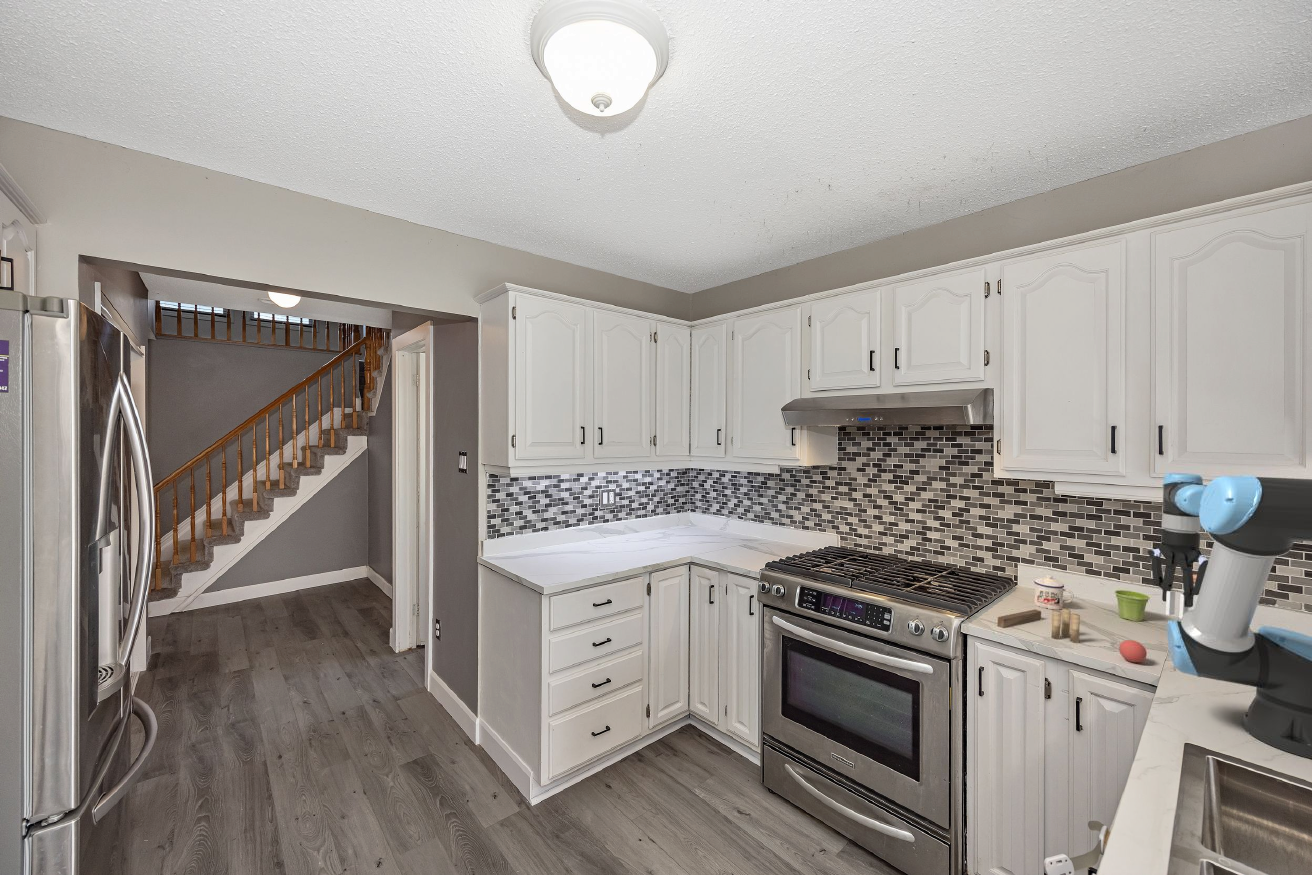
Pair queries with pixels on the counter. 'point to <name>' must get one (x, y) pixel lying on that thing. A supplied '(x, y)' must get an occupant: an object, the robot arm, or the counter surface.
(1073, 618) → the front pin
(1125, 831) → the counter surface
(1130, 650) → the ball
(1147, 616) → the counter surface
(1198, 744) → the counter surface
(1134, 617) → the plant pot
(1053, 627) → the pin
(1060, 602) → the teacup with lid
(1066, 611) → the pin
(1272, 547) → the robot arm
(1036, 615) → the back wall
